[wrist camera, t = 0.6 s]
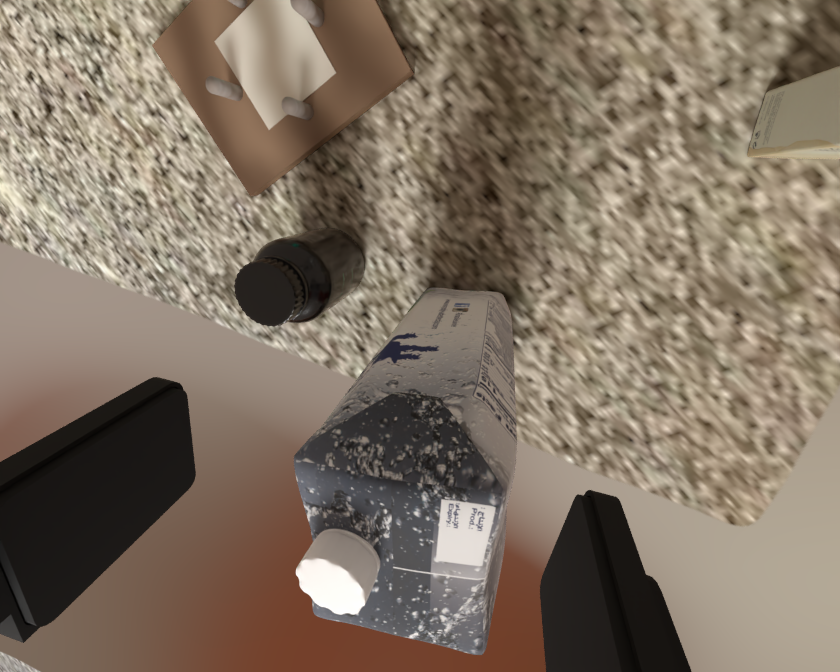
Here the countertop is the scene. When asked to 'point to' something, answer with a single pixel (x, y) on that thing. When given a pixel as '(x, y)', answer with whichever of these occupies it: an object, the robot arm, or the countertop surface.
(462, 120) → the countertop surface
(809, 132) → the skincare box
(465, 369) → the juice carton
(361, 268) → the supplement bottle
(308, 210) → the countertop surface
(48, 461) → the robot arm
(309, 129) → the brown pegged board
